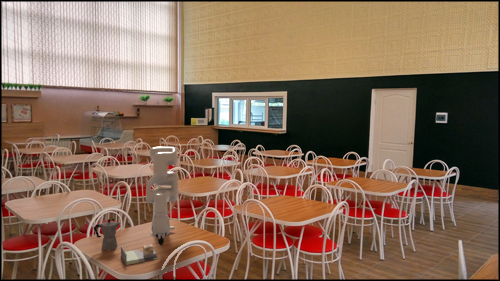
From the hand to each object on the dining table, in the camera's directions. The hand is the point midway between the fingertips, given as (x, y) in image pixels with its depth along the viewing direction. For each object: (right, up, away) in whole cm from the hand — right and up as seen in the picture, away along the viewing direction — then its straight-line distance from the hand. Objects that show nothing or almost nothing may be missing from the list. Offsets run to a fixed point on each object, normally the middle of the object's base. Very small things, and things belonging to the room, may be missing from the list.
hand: (160, 244), depth 219 cm
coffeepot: (-35, -5, +8) cm, 36 cm away
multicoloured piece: (-11, -6, -5) cm, 14 cm away
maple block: (-7, -4, -3) cm, 8 cm away
